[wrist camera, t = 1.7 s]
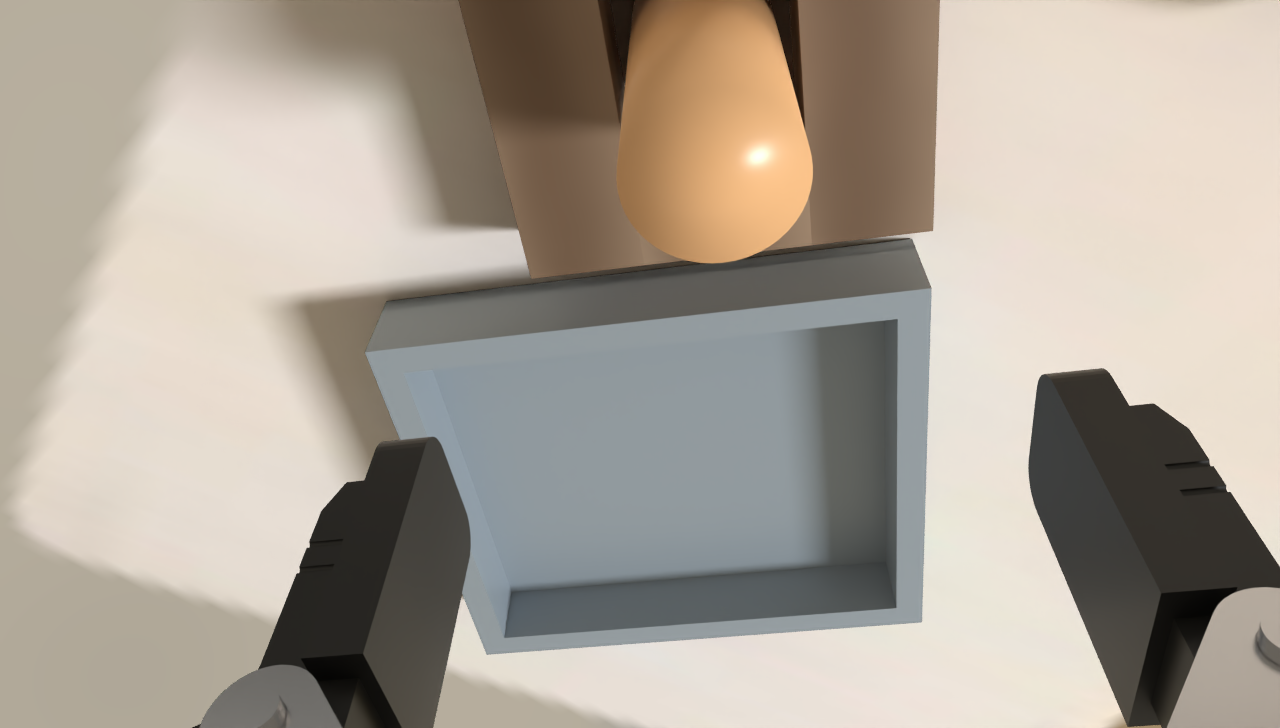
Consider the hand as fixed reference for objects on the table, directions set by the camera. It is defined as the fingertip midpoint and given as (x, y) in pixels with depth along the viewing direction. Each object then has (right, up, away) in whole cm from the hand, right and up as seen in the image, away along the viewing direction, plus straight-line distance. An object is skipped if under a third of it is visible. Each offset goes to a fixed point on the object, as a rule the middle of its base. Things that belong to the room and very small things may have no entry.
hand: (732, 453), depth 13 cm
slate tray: (0, -2, +24) cm, 24 cm away
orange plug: (+1, +11, +15) cm, 18 cm away
